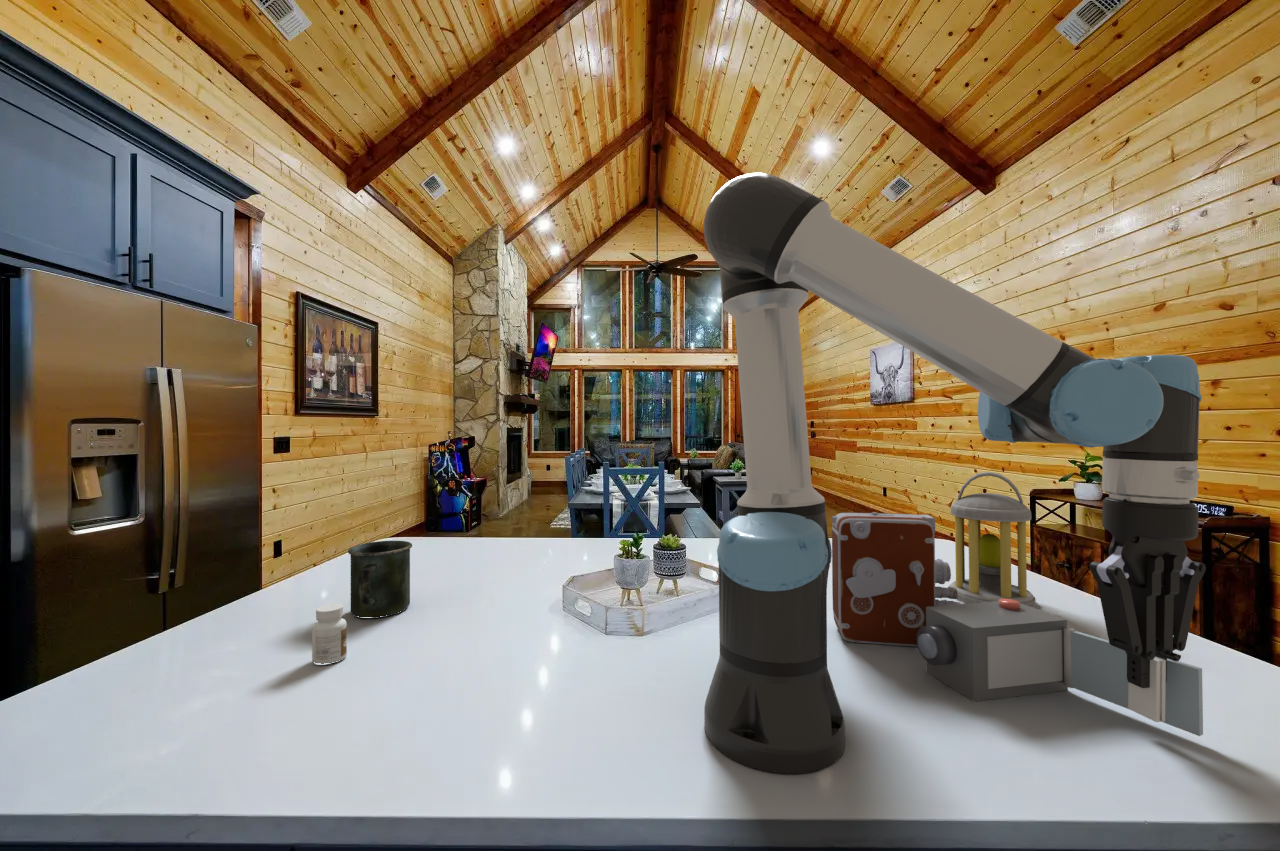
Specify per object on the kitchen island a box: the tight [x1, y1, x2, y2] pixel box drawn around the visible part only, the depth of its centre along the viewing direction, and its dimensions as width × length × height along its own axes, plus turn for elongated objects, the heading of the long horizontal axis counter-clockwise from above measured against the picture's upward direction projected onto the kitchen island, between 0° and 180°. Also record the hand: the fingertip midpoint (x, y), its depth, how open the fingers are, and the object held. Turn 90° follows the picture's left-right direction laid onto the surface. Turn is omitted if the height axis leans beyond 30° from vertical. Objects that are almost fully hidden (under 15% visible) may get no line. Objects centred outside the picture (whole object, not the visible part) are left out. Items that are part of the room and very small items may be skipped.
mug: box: [347, 540, 413, 617], centre depth 97 cm, size 11×15×12 cm
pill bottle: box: [311, 603, 348, 664], centre depth 77 cm, size 4×4×8 cm
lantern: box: [948, 471, 1037, 608], centre depth 104 cm, size 14×14×25 cm
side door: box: [1064, 627, 1204, 737], centre depth 61 cm, size 13×1×7 cm, turn 24°
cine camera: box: [831, 511, 965, 648], centre depth 84 cm, size 9×19×20 cm, turn 78°
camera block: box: [917, 599, 1069, 702], centre depth 70 cm, size 16×8×10 cm, turn 101°
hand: (1146, 714), depth 57 cm, fingers closed
